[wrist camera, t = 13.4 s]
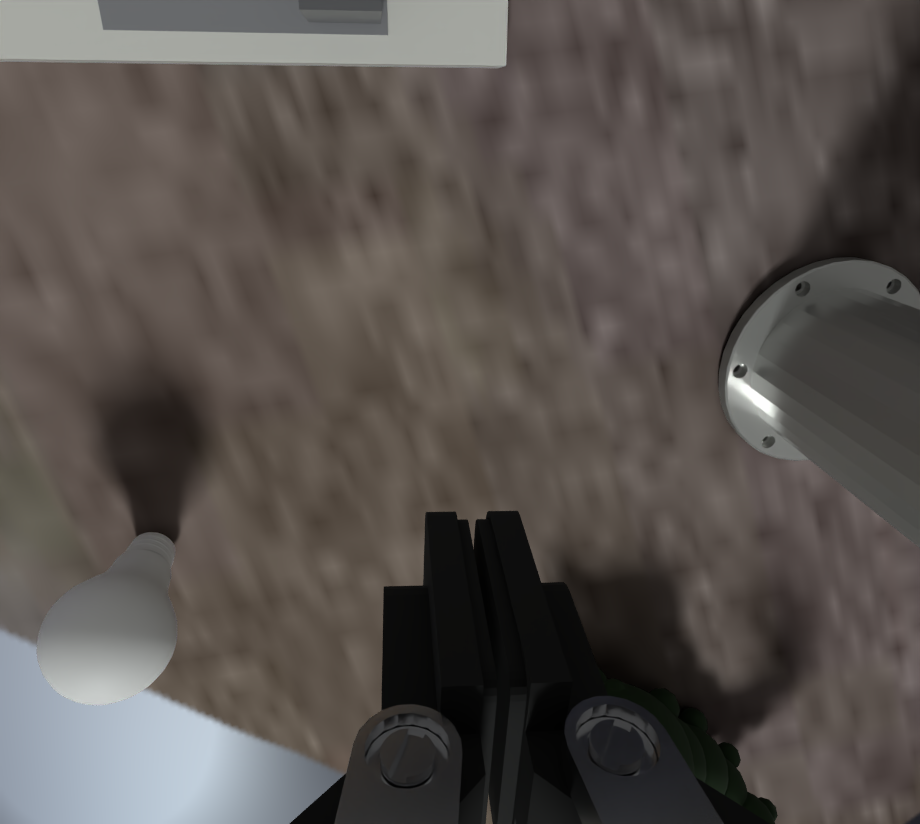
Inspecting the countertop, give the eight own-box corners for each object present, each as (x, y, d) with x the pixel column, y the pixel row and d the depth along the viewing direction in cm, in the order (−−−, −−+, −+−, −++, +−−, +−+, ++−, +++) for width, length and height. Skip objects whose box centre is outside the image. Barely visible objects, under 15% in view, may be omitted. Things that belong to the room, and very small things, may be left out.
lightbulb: (223, 571, 41) (176, 719, 31) (124, 591, 41) (46, 746, 31) (191, 489, 39) (129, 621, 29) (86, 509, 38) (-14, 650, 28)
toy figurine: (755, 714, 56) (556, 596, 45) (939, 989, 39) (696, 910, 28) (673, 779, 58) (464, 682, 47) (814, 1065, 41) (545, 1019, 30)
